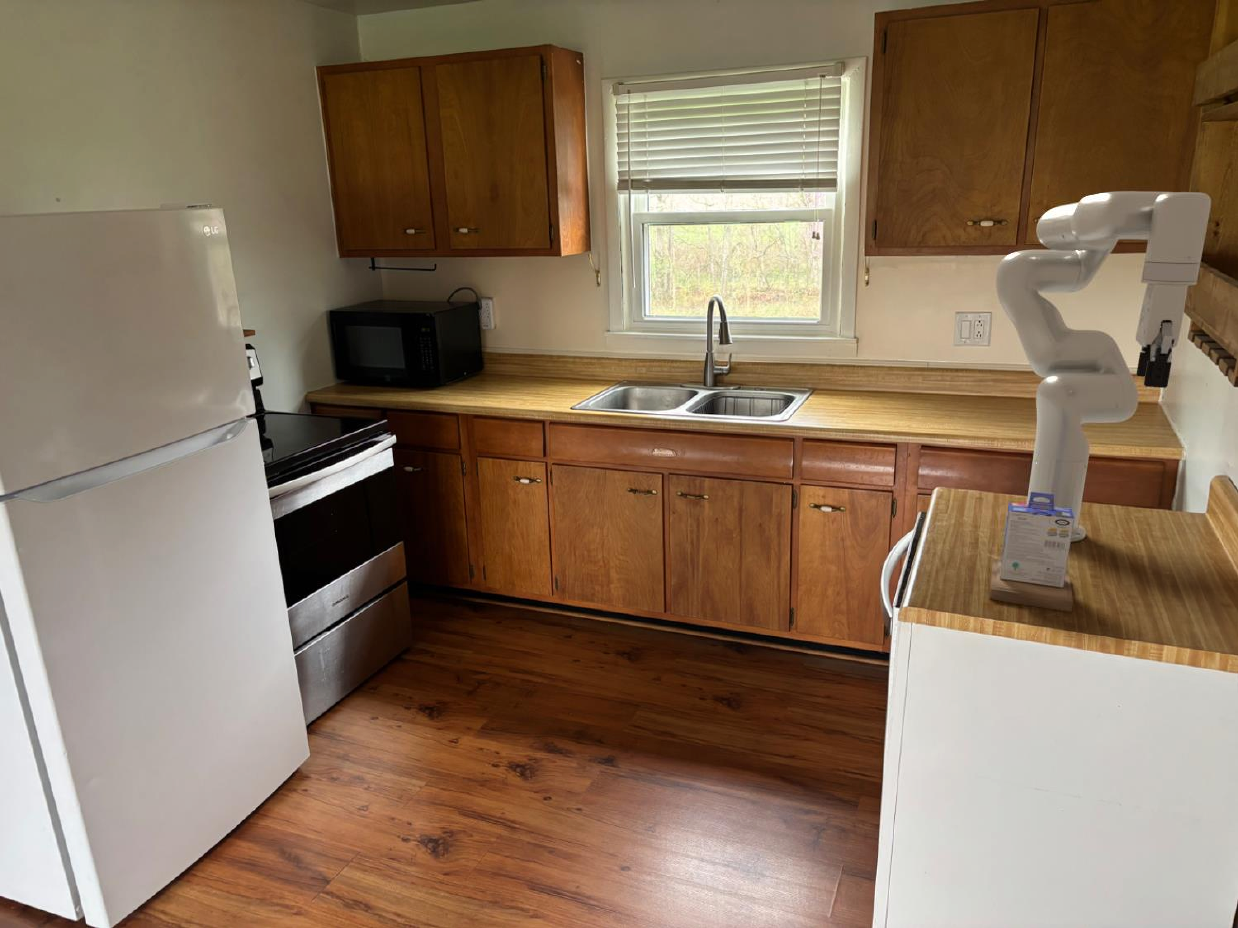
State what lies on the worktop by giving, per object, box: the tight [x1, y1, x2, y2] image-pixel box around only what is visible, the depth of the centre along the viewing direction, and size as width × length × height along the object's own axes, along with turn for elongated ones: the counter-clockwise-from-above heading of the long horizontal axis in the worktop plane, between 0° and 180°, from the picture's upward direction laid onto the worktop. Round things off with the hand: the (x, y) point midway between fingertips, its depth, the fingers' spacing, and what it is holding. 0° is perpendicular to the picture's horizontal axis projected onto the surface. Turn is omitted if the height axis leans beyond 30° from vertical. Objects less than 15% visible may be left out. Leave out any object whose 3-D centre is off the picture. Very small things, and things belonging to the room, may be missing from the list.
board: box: [989, 558, 1074, 613], centre depth 149 cm, size 14×12×2 cm
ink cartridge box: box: [1000, 492, 1074, 587], centre depth 146 cm, size 10×6×14 cm, turn 68°
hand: (1151, 381), depth 145 cm, fingers open, 9 cm apart
